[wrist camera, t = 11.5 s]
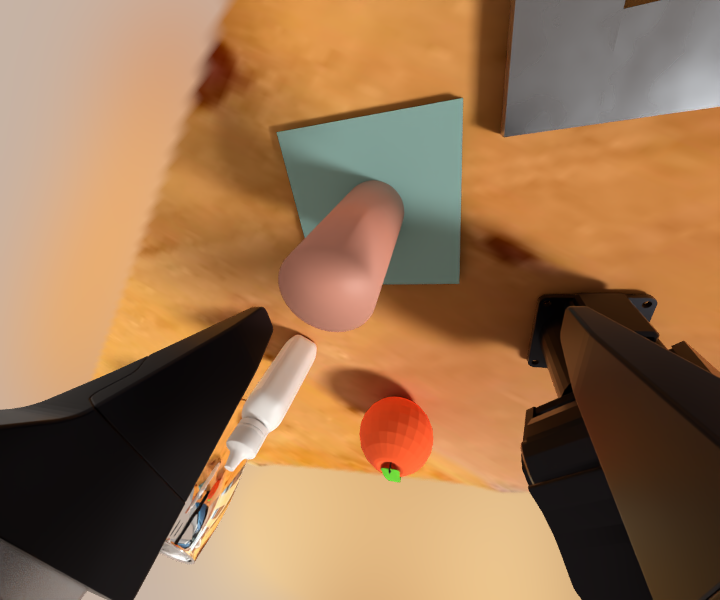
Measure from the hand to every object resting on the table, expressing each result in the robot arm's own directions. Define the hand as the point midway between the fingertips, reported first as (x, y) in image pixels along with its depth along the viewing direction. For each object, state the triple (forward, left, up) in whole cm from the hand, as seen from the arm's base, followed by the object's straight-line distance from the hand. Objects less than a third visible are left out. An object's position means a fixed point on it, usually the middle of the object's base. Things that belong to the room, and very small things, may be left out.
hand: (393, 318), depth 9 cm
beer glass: (-26, +24, -13) cm, 38 cm away
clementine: (-21, +3, -13) cm, 25 cm away
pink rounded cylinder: (0, +3, -12) cm, 12 cm away
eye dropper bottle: (-14, +13, -13) cm, 24 cm away
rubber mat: (0, +3, -13) cm, 13 cm away
